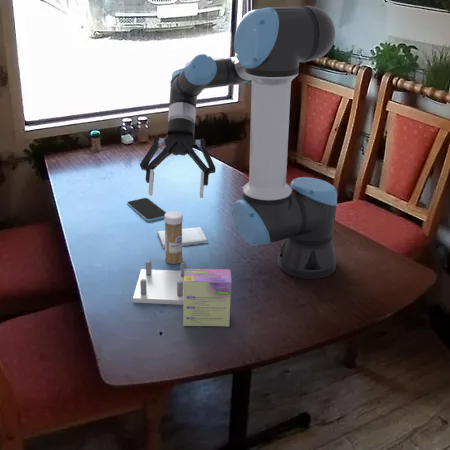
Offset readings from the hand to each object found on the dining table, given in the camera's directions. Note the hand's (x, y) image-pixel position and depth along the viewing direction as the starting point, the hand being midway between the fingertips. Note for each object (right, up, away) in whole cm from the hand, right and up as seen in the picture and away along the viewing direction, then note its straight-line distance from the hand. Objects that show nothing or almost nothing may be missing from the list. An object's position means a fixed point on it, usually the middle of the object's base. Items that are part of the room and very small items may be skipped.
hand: (175, 195), depth 171 cm
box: (+9, -29, -26) cm, 40 cm away
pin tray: (-2, -23, -15) cm, 28 cm away
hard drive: (+1, -12, +8) cm, 15 cm away
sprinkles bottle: (0, -17, -3) cm, 17 cm away
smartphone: (-10, -4, +23) cm, 26 cm away
